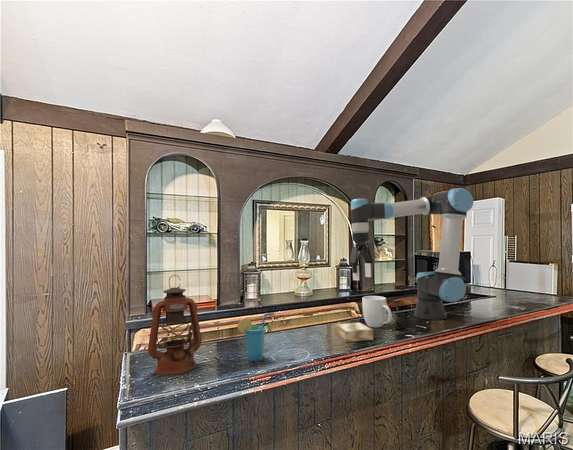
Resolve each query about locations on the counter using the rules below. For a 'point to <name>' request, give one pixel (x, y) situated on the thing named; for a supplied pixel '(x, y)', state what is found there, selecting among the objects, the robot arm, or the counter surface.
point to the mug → (375, 311)
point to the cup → (254, 337)
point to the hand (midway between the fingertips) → (362, 278)
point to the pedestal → (353, 332)
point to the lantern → (176, 355)
